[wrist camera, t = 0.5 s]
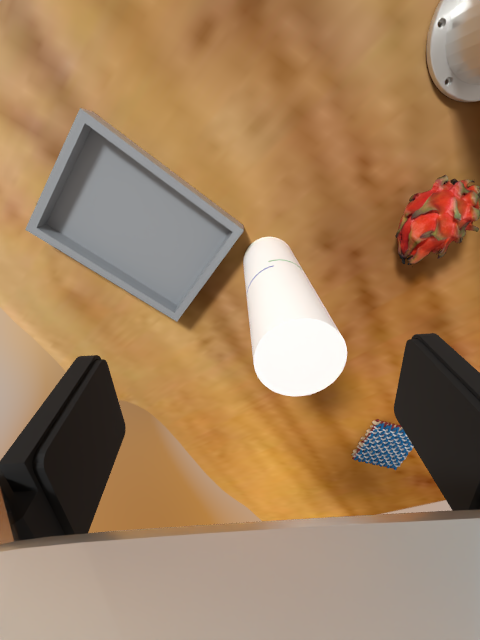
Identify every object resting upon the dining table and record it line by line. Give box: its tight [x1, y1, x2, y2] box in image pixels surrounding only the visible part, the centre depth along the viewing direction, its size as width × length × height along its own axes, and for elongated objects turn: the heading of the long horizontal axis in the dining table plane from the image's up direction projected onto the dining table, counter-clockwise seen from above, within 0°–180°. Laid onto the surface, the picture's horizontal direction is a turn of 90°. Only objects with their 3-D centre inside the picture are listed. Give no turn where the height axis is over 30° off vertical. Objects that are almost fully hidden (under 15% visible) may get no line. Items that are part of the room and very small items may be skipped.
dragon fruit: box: [396, 175, 480, 265], centre depth 42 cm, size 8×8×12 cm
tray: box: [25, 108, 244, 321], centre depth 44 cm, size 16×22×4 cm
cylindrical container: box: [243, 237, 347, 396], centre depth 37 cm, size 7×7×25 cm
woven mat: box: [351, 419, 414, 470], centre depth 64 cm, size 10×11×2 cm
